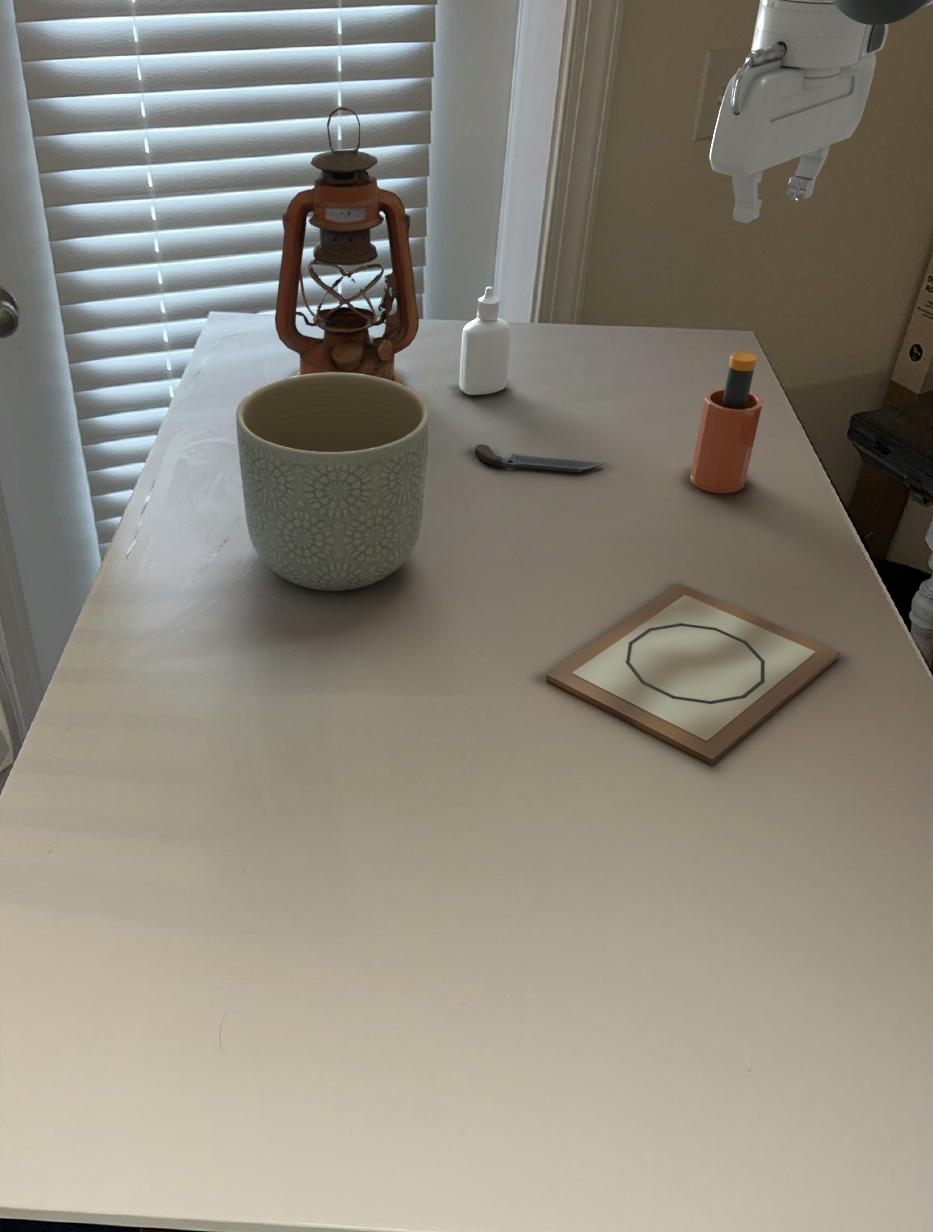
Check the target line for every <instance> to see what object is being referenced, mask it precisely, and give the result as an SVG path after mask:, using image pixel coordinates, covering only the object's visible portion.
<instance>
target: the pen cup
mask: <svg viewBox="0 0 933 1232" xmlns="http://www.w3.org/2000/svg"><path fill="white" fill-rule="evenodd" d="M724 390H725V387H721V388H715V389H712V390H710V391H709V392H706V394H705V397H704V401H703V406H702V412H701V417H700V423H699V428H698V433H697V439H696V444H695V448H694V453H693V454H694V455H693V461H692V465H691V471H690V476H689V479H690V480H689V481H690V482H691V484H692V485H693V486H695V487H696V488H698V489H699V490H702V491H706V492H708V493H714V494H731V493H736V492H739V491H741V490H742V489H743V488H744V487H745V484H746V480H747V475H748V472H749V468H750V467H749V466H750V462H751V457H752V453H753V448H754V444H755V439H756V435H757V430H758V425H759V421H760V416H761V412H762V407H763V403H764V401H763V399H762V398H761V397H760V396H759V395H758V394H756V393H754V392H752V391H749V396H748V400H747V405H746V409H730V408H725V407H721V405H722V400H723V395H724Z"/></svg>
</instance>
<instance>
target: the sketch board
mask: <svg viewBox="0 0 933 1232" xmlns="http://www.w3.org/2000/svg"><path fill="white" fill-rule="evenodd" d="M840 655H841V652H840V651H838V650H835V649H833V648H831V647H829V646H826V645H823V644H822V643H819V642H817V641H814V640H812V639H809V638H807V637H805V636H803V635H800V634H798V633H796V632H794V631H791V630H789V629H786V628H784V627H782V626H780V625H777V624H775V623H773V622H770V621H768V620H765V619H764V618H761V617H759V616H757V615H754V614H752V613H749V612H747V611H745V610H742V609H740V608H738V607H735V606H733V605H731V604H729V603H727V602H724V601H722V600H720V599H717V598H714V597H712V596H710V595H708V594H705V593H703V592H701V591H699V590H696V589H694V588H691V587H689V586H687V585H684V584H682V583H679V584H678V585H676V586H674V587H673V588H671V589H669V591H667V592H665V593H664V594H662V595H661V596H660V597H658V598H656V599H655V600H654V601H652V602H651V603H649V604H648V605H646V606H645V607H643V608H642V609H641V610H639V611H637V612H636V613H635V614H633V615H632V616H630V617H628V618H627V619H626V620H624V621H623V622H621V623H619V624H618V625H617V626H615V627H614V628H613V629H611V630H610V631H608V632H606V633H605V634H604V635H602V636H600V637H599V638H597V639H596V640H595V641H593V642H592V643H591V644H589V645H587V646H586V647H585V648H583V649H582V650H580V651H578V652H577V653H575V655H572V656H571V657H570V658H569V659H566V661H564V662H562V663H561V664H560V665H558V666H557V667H555V668H554V669H552V670H551V671H549V672H548V673H546V674H545V675H546V676H545V680H546V681H547V682H549V683H551V684H553V685H555V686H557V687H559V688H561V689H563V690H565V691H566V692H569V693H571V694H573V695H575V696H577V697H579V698H581V699H582V700H584V701H586V702H588V703H590V704H591V705H594V706H596V707H598V708H599V709H602V710H604V711H606V712H608V713H609V714H612V715H613V716H615V717H618V718H619V719H622V720H623V721H625V722H627V723H629V724H631V725H633V726H635V727H637V728H639V729H641V730H642V731H645V732H647V733H648V734H650V735H653V736H654V737H656V738H658V739H660V740H662V741H664V742H665V743H668V744H670V745H672V746H674V747H676V748H678V749H679V750H682V751H683V752H685V753H688V754H689V755H691V756H693V757H695V758H697V759H699V760H701V761H702V762H704V763H707V764H709V765H714V764H715V763H716V762H717V761H718V760H719V759H721V758H722V757H723V756H724V755H725V754H726V753H728V752H729V751H730V750H731V749H733V747H735V746H736V745H737V744H738V743H739V742H741V741H742V740H743V739H745V737H747V736H748V735H749V734H750V733H752V732H753V730H755V729H756V728H757V727H759V726H760V725H761V724H762V723H763V722H765V720H767V719H768V718H769V717H771V716H772V715H773V714H774V713H775V712H776V711H777V710H778V709H780V708H781V707H782V706H783V705H784V704H786V703H787V702H788V701H790V700H791V699H792V698H793V697H794V696H795V695H796V694H798V693H799V692H800V691H801V690H802V689H804V688H805V687H806V686H807V685H808V684H810V683H811V682H812V681H813V680H815V678H817V677H818V676H819V675H820V674H822V673H823V672H824V671H825V670H826V669H827V668H828V667H830V666H831V665H832V664H833V663H835V662H836V661H837V660H838V659H839V658H840Z"/></svg>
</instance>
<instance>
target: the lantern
mask: <svg viewBox="0 0 933 1232" xmlns="http://www.w3.org/2000/svg"><path fill="white" fill-rule="evenodd" d="M340 110H341V111H348V112H351V114H353V115H354V116H355V117H356V121H357V123H358V142H357V146H356V148H354V149H339V150H334V148H333V146H332V145H333V144H332V139H331V133H330V125H331V124H330V122H331V119H332V116H333V115H334V114H335V113H337V112H338V111H340ZM326 127H327V128H326V129H327V137H328V142H329V143H328V144H329V148H330V151H324V152H321V153H318V154H316V155H314V156H313V157H312V158H311V161H310V164H311V166H312V167H314V168H316V169H317V170H320V171H321V172H320V174H319V175H318V176H317V177H316V178H314V184H313V187H312V188H309V189H305V190H302V191H299V192H297V194H295V195H294V197H293V198H292V199H291V200H290V202H289V204H288V206H287V207H286V212H284V213H282V215H281V216H282V218H281V223H282V226H283V239H282V240H283V241H282V249H281V250H282V252H281V260H280V269H279V275H278V276H279V277H278V286H277V294H276V306H275V314H274V323H275V330H276V333H277V336H278V339H279V340H280V342H282V344H283V345H284V346H285V347H286V348H287V349H289V350H290V351H293V352H295V353H297V355H299V370H298V372H297V373H296V375H295V376H299V375H305V374H314V373H355V374H364V375H370V376H375V377H380V378H384V379H388V380H391V381H394V382H397V383H399V384H401V379H400V377H399V375H398V372H397V370H396V369H395V356H396V355H395V354H398V353H400V352H402V351H403V350H405V349H406V348H408V347H409V346H411V344H412V342H413V341H414V340H415V339H416V336H417V334H418V331H419V324H420V317H419V312H418V304H417V295H416V286H415V276H414V275H415V274H414V268H413V261H412V254H411V253H412V252H411V247H410V229H411V228H410V227H411V216H410V215H409V214H408V213H406V208H405V206H404V204H403V201H402V199H401V198H400V197H399V196H398V195H397V194H396V192H392V191H390V190H387V189H383V188H380V187H379V186H378V179H377V177H376V176H374V175H372V174H369V172H368V171H367V170H370V169H371V168H373V167H374V166H376V165H377V164H378V158H377V156H375V155H373V154H370V153H368V152H364V151H359V150H360V147H361V123H360V119H359V116H358V115H357V113H356V112H355V111H353V110H352V109H351V108H348V107H345V106H343V107H341V106H340V107H337V108H335V109H333V111H331V112H330V113H329V116H328V118H327V122H326ZM311 212H312V215H311V216H310V217H309V218H308V214H309V213H311ZM381 212H382V213H383V215H384V216H383V215H382V214H381ZM307 218H308V219H307ZM384 221H385V223H386V228H387V236H388V245H389V255H390V261H391V271H392V272H391V273H388V274H385V275H384V272H385V269H384V266H383V265H382V264H380V263H371V262H373V261H375V260H376V259H377V258H378V256H379V254H378V250H377V247H376V246H375V244H373V243H372V242H371V229H374V228H376V227H378V226H380V225H382V223H384ZM307 223H309V225H311V226H313V227H314V228H318V230H319V242H318V243H316V244H315V245H314V246H313V250H312V254H313V258H314V259H312V260H311V261H310V262H309V263H308V265H307V270H308V272H309V275H310V279H312V280H313V281H314V282H315V283H316V284H317V285H318V286H319V287H321V288H322V290H324V291H325V295H324V297H323V299H322V300H321V302H320V303H319V304H318V305H317V306H316V308H317V309H315V310H316V312H315V313H314V312H313V311H312V309H311V307H310V306H309V304H308V302H307V301H308V300H307V299H306V298H307V297H306V294H305V286H304V279H303V272H302V265H303V264H302V263H303V256H304V246H305V240H306V239H305V237H306V231H307ZM369 263H371V264H369ZM365 264H366V265H365ZM313 266H324V267H332V268H336V270H338V272H339V273H340V274H341V276H340V277H338V279H335V281H334V282H333V283H332V284H331V286H329V285H327V284H326V283H325V282H324V281H323V280H322V278H321V277H319V275H318V274H317V273H316V271H314V268H313ZM342 266H344V267H345V266H346V267H351V266H353V267H354V266H359V267H356V268H354V269H353V270H348V272H345V270H344V269H343V268H342ZM372 268H373V269H374V268H380V269H381V271H380V272H379V273H378V274H377V275H375V277H374V278H373V279H372V280H371V281H370V282H369V283H368V284H367V285H366V286H364V288H360V289H359V291H358V292H357V293H356V294H355V295H353V296H351V297H349V298H345V297H344V296H343V295H342V294H340V293H339V292H337V290H335V288H336V287H337V286H339V284H340V283H341V282H342V281H343V279H344V278H345V277H347V278H348V279H349V278H351V279H350V281H351V282H353V283H354V284H356V280H355V279H354V278H353V277H352V275H354V274H357V273H359V272H360V271H364V270H368V269H370V270H371V269H372ZM383 275H384V289H383V294H382V297H381V300H380V303H379V305H378V307H377V309H378V311H379V313H381V314H380V317H379V318H378V315H377V314H376V311H375V308H374V306H373V304H372V301H371V298H370V297H369V296H368V295H367V294H366V292H368V291H369V290H370V289H372V288H373V287H374V286H375V285H376V284H377V283H378V282H379V281H380V280H381V279H382V277H383ZM385 285H386V286H385ZM299 288H300V291H301V296H302V300H303V303H304V306H305V308H306V309H307V311H308V312H309V314H311V316H312V322H310V321H309V318H308V317H307V316H306V314H305V313H303V312H301V311H297V307H298V295H299ZM390 288H391V294H390ZM328 294H329V295H331V297H333V298H335V299H336V300H337V301H338V302H339V303H338V305H337V306H336V307H331V308H324V309H322V305H323V303H324V300H325V298H326V296H327V295H328ZM361 296H362V297H363V298H364V299H365V301H366V303H367V305H368V307H369V308H370V309H368V308H362V307H357V306H354V305H353V304H352V303H351V302H353V301H355V300H356V299H358V298H360V297H361ZM394 301H395V302H396V311H395V312H394V313H393V314H390V313H391V312H392V310H393V305H394ZM344 305H346V306H344ZM383 309H384V310H383ZM297 316H298V317H299V316H300V317H302V318H303V321H304V324H305V326H309V327H317V328H319V329H321V330H323V335H322V336H320V337H315V336H314V337H313V336H311V335H305V334H303V333H302V332H300V331H299V330H298V328H297ZM383 324H384V325H385V327H384V331H383V334H382V336H377V337H375V336H373V335H371V334H370V330H369V329H370V328H372V327H378V326H380V325H383Z"/></svg>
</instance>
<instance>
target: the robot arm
mask: <svg viewBox="0 0 933 1232" xmlns="http://www.w3.org/2000/svg"><path fill="white" fill-rule="evenodd" d="M931 5H933V0H759V5H758V11H757V17H756V22H755V27H754V32H753V38H752V39H753V40H752V43H751V50H750V52H749V53H748V54H747V55H746V58H745V61H744V62H743V64H742V65H741V67H739V68H738V69H737V71H736V73H735V74H734V75H733V76H732V77H731V78H730V80H729V82H728V84H727V86H726V89H725V91H724V95H723V97H722V101H721V104H720V108H719V112H718V115H717V119H716V125H715V129H714V133H713V137H712V141H711V147H710V150H709V151H710V152H709V162H710V166H711V169H712V171H713V172H715V173H718V174H722V175H726V176H730V177H731V176H732V177H731V185H732V189H733V194H734V199H735V203H734V209H733V214H732V217H733V220H734V221H735V222H739V223H742V224H749V223H751V222H753V221H756V220H757V219H759V217H760V214H761V212H760V210H761V208H762V204H763V199H760V198H759V192H758V191H759V190H758V187H759V183H761V182H762V180H763V176H764V171H765V170H769V169H770V168H773V167H776V166H778V165H781V164H784V163H786V162H789V161H792V160H794V159H796V158H799V157H800V160H799V163H798V166H797V167H796V171H795V173H794V175H793V176H791V177H790V178H789V182H788V189H787V198H789V199H790V200H796V201H798V202H801V201H803V200H806V199H808V198H810V197H811V196H812V195H813V192H814V188H815V185H816V184H815V183H816V178H817V177H818V176H819V173H820V172H821V170H822V168H823V166H824V164H825V162H826V160H827V159H828V157H829V156H828V155H829V152H830V147H831V145H834V144H836V143H839V142H842V141H845V140H847V139H850V138H851V137H852V136H853V134H854V133H855V131H856V130H857V127H858V126H859V124H860V122H861V120H862V117H863V114H864V110H865V107H866V104H867V101H868V97H869V93H870V89H871V86H872V81H873V78H874V74H875V70H876V65H877V56H876V53H878V52H880V51H881V50H882V49H883V48H884V47H885V44H886V42H887V37H888V32H889V28H890V27H889V24H893V23H896V22H898V21H901V20H903V19H905V18H908V17H909V16H911V15H912V14H914V13H917V12H918V11H920V10H921V9H924V8H925V7H927V6H931Z"/></svg>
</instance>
